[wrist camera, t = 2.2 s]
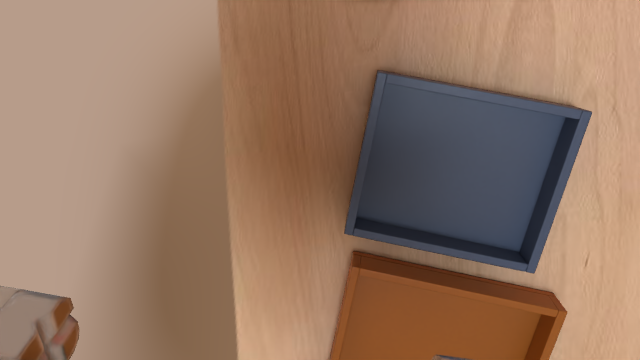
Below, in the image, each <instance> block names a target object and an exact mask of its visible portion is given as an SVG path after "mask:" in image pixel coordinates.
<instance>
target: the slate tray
mask: <svg viewBox="0 0 640 360" xmlns="http://www.w3.org/2000/svg"><path fill="white" fill-rule="evenodd" d="M591 114H592V112H591V111H588V110H584V109H581V108H577V107H574V106H569V105H563V104H558V103H553V102H547V101H542V100H537V99H531V98H526V97H521V96H515V95H510V94H505V93H499V92H494V91H488V90H483V89H478V88H472V87H467V86H462V85H456V84H451V83H446V82H440V81H435V80H430V79H424V78H419V77H414V76H408V75H403V74H397V73H392V72H387V71H381V70H378V71H377V75H376V80H375V85H374V90H373V94H372V99H371V104H370V109H369V114H368V118H367V123H366V128H365V133H364V138H363V142H362V147H361V152H360V157H359V162H358V166H357V171H356V176H355V181H354V186H353V190H352V195H351V200H350V205H349V210H348V214H347V219H346V225H345V232H344V234H347V235H353V236H357V237H362V238H367V239H371V240H376V241H381V242H386V243H390V244H395V245H400V246H405V247H410V248H414V249H419V250H424V251H429V252H434V253H438V254H443V255H448V256H453V257H457V258H462V259H467V260H472V261H477V262H481V263H486V264H491V265H496V266H500V267H505V268H510V269H515V270H520V271H524V272H525V271H526V272H529V273H535V270H536V268H537V265H538V262H539V259H540V256H541V254H542V251H543V248H544V245H545V243H546V240H547V237H548V234H549V231H550V229H551V226H552V223H553V220H554V217H555V215H556V212H557V209H558V206H559V204H560V201H561V198H562V195H563V192H564V190H565V187H566V184H567V181H568V178H569V176H570V173H571V170H572V167H573V165H574V162H575V159H576V156H577V153H578V151H579V148H580V145H581V142H582V139H583V137H584V134H585V131H586V128H587V126H588V123H589V120H590V117H591Z"/></svg>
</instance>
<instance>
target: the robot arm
mask: <svg viewBox="0 0 640 360" xmlns="http://www.w3.org/2000/svg"><path fill="white" fill-rule="evenodd" d="M73 308H74V307H73V304H72V301H71V298H67V297H61V296H56V295H50V294H45V293H39V292H33V291H28V290H22V289H16V288H10V287H4V286H0V360H69V359H70V358H71V356H72V354H73V352H74V350H75V348H76V344H77V342H78V339H79V326H78V321H76V320H75V319H74V318H73V317H72V316H71V315H70V313H71V311H72V310H73ZM432 360H474V359H466V358H459V357H452V356H445V355H438V354H436V355H435V356H433V358H432Z"/></svg>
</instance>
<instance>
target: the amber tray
mask: <svg viewBox="0 0 640 360" xmlns="http://www.w3.org/2000/svg"><path fill="white" fill-rule="evenodd" d="M566 315H567V311H566V310H565V308H564V307H563V306H562V304H561V303H560V302H559V300H558V299H557V298H556V296H555V295H554V293H550V292H546V291H541V290H536V289H531V288H527V287H522V286H517V285H512V284H508V283H503V282H498V281H493V280H489V279H484V278H479V277H474V276H470V275H465V274H460V273H456V272H451V271H446V270H441V269H437V268H432V267H427V266H422V265H418V264H413V263H408V262H403V261H399V260H394V259H389V258H384V257H380V256H375V255H370V254H365V253H361V252H356V251H353V255H352V259H351V264H350V268H349V273H348V278H347V282H346V287H345V291H344V296H343V300H342V305H341V310H340V314H339V319H338V323H337V328H336V332H335V337H334V342H333V346H332V351H331V355H330V360H432V358H433V356H435V355H436V354H438V355H445V356H452V357H459V358H466V359H474V360H549V358H550V355H551V353H552V350H553V348H554V345H555V342H556V340H557V337H558V335H559V332H560V330H561V327H562V325H563V322H564V320H565V317H566Z"/></svg>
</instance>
